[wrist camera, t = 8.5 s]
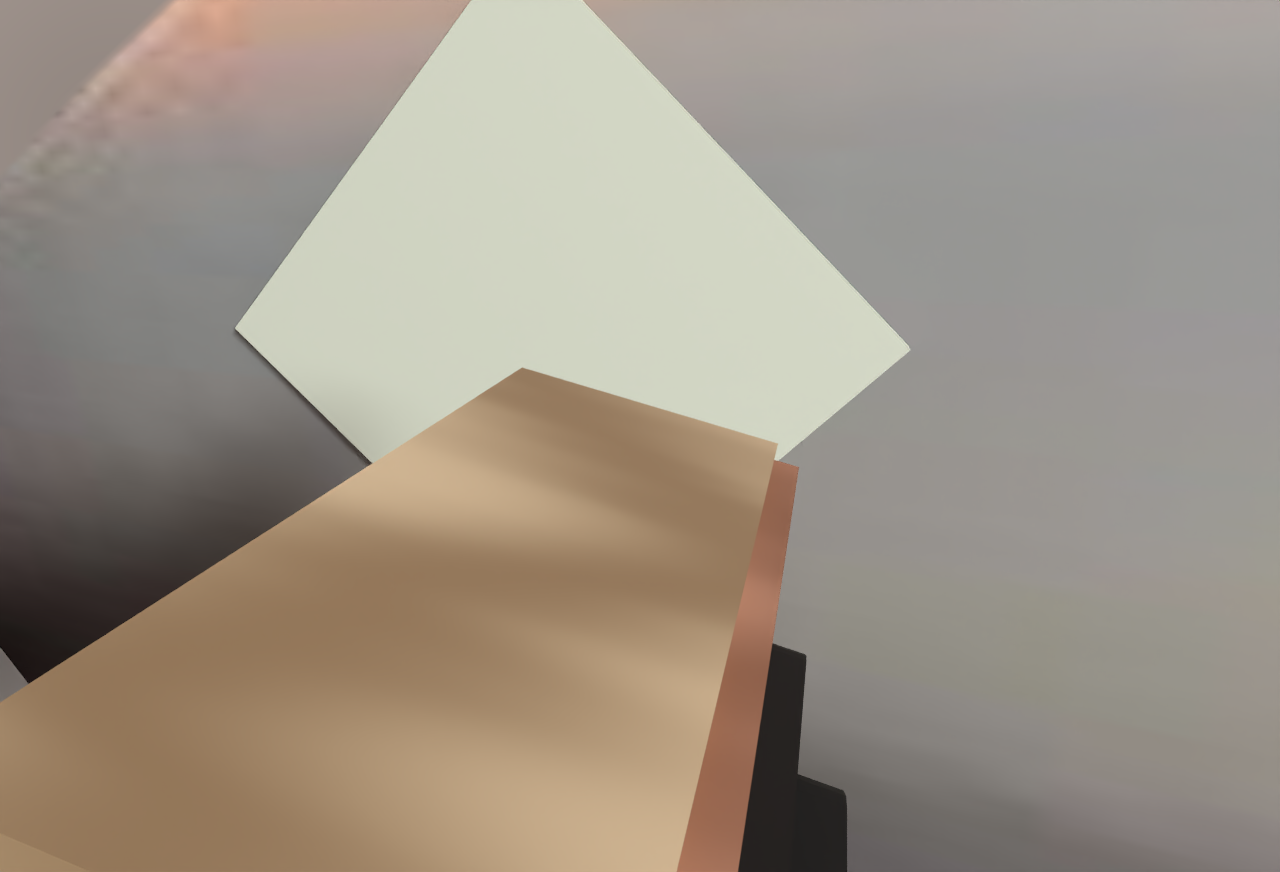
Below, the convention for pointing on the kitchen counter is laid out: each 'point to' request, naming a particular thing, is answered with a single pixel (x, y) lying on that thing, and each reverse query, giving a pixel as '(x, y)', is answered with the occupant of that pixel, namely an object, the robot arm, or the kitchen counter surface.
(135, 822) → the tan wooden block
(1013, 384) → the kitchen counter surface
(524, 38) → the mat
